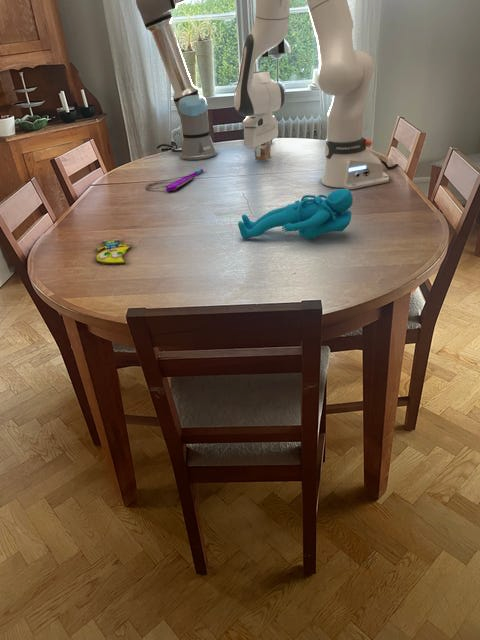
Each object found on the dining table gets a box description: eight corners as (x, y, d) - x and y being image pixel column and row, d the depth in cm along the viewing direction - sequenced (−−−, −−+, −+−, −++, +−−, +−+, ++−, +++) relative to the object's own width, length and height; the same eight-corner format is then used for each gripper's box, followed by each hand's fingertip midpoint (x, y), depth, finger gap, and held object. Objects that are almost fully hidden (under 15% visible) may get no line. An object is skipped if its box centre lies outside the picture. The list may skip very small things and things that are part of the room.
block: (260, 156, 197) (260, 145, 194) (270, 157, 195) (270, 146, 192) (255, 159, 194) (254, 148, 192) (265, 160, 192) (264, 148, 189)
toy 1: (135, 237, 135) (125, 260, 122) (135, 240, 135) (125, 263, 123) (99, 239, 135) (85, 263, 122) (100, 242, 135) (86, 266, 123)
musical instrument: (142, 197, 170) (197, 185, 167) (141, 191, 169) (195, 179, 166) (155, 181, 191) (204, 170, 188) (154, 176, 190) (202, 165, 187)
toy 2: (244, 202, 136) (351, 176, 125) (255, 236, 141) (358, 213, 131) (231, 226, 122) (349, 198, 112) (243, 263, 127) (358, 239, 117)
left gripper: (278, -5, 204) (280, 51, 216) (246, -3, 188) (250, 58, 199) (294, -7, 201) (295, 51, 212) (263, -5, 184) (265, 58, 195)
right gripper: (267, 112, 194) (269, 147, 202) (240, 122, 181) (242, 160, 188) (281, 112, 191) (282, 148, 199) (254, 123, 177) (256, 161, 185)
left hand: (273, 55), depth 206 cm, fingers open, 13 cm apart
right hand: (263, 154), depth 193 cm, fingers closed on block, 4 cm apart
